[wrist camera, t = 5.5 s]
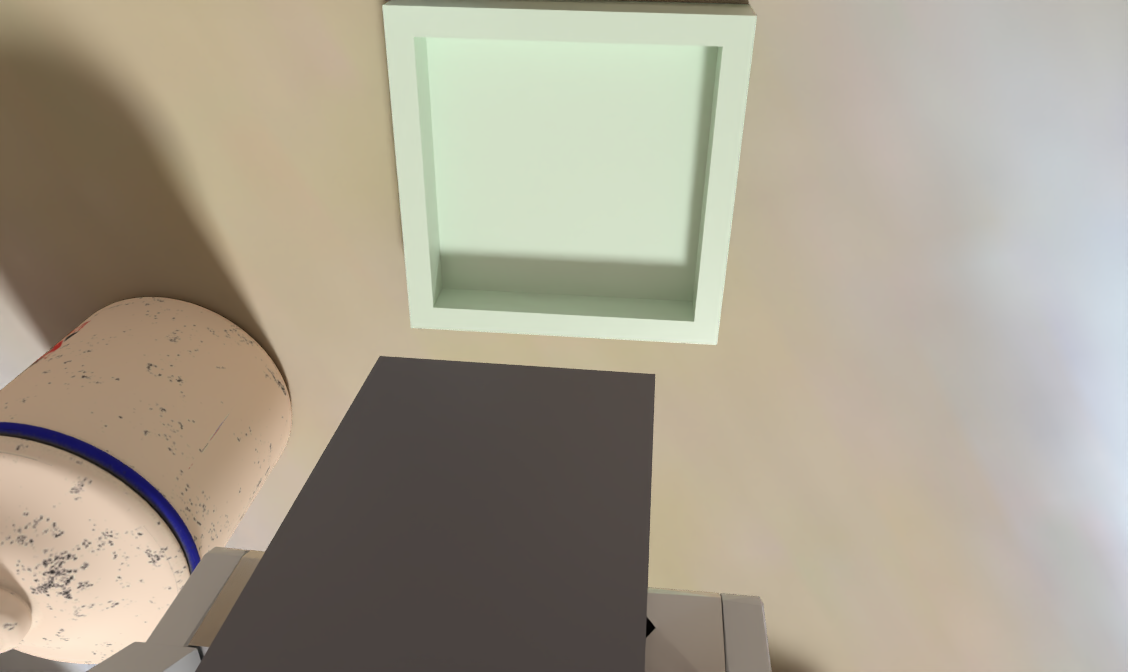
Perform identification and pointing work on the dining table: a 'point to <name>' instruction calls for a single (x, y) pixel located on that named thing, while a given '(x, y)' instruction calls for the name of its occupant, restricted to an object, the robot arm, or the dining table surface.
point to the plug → (462, 530)
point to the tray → (568, 163)
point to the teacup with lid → (127, 471)
